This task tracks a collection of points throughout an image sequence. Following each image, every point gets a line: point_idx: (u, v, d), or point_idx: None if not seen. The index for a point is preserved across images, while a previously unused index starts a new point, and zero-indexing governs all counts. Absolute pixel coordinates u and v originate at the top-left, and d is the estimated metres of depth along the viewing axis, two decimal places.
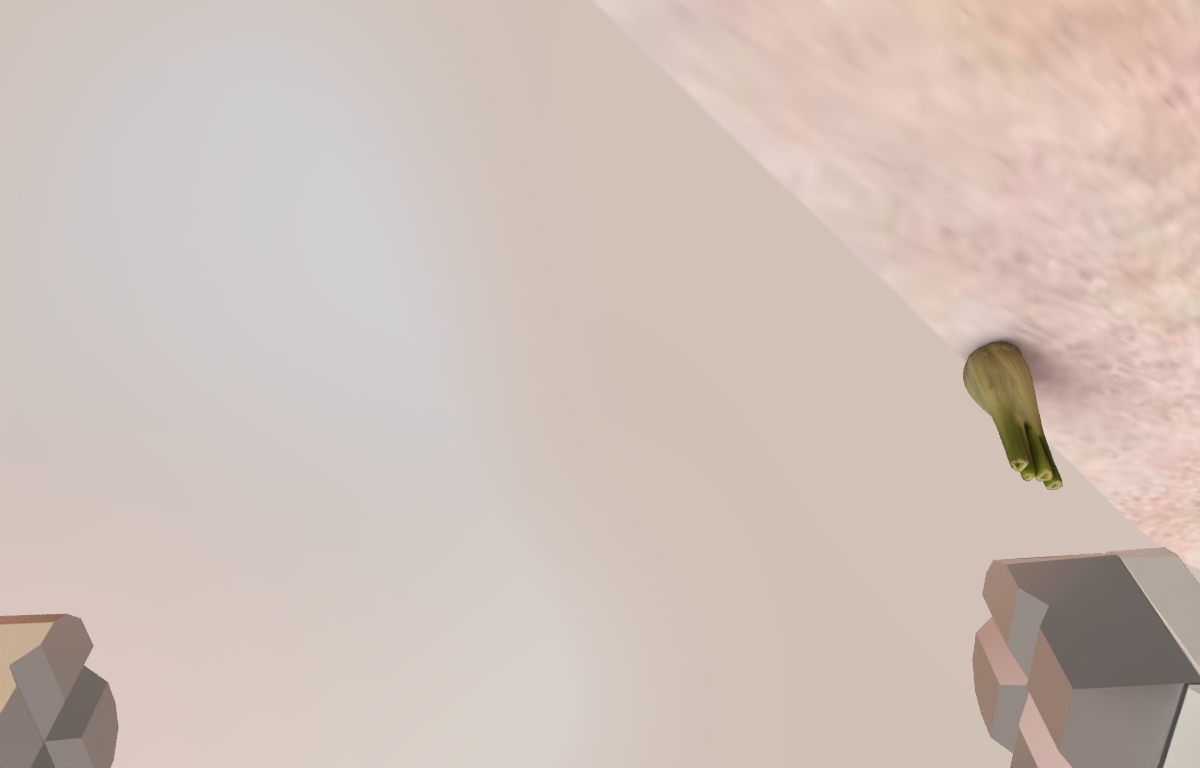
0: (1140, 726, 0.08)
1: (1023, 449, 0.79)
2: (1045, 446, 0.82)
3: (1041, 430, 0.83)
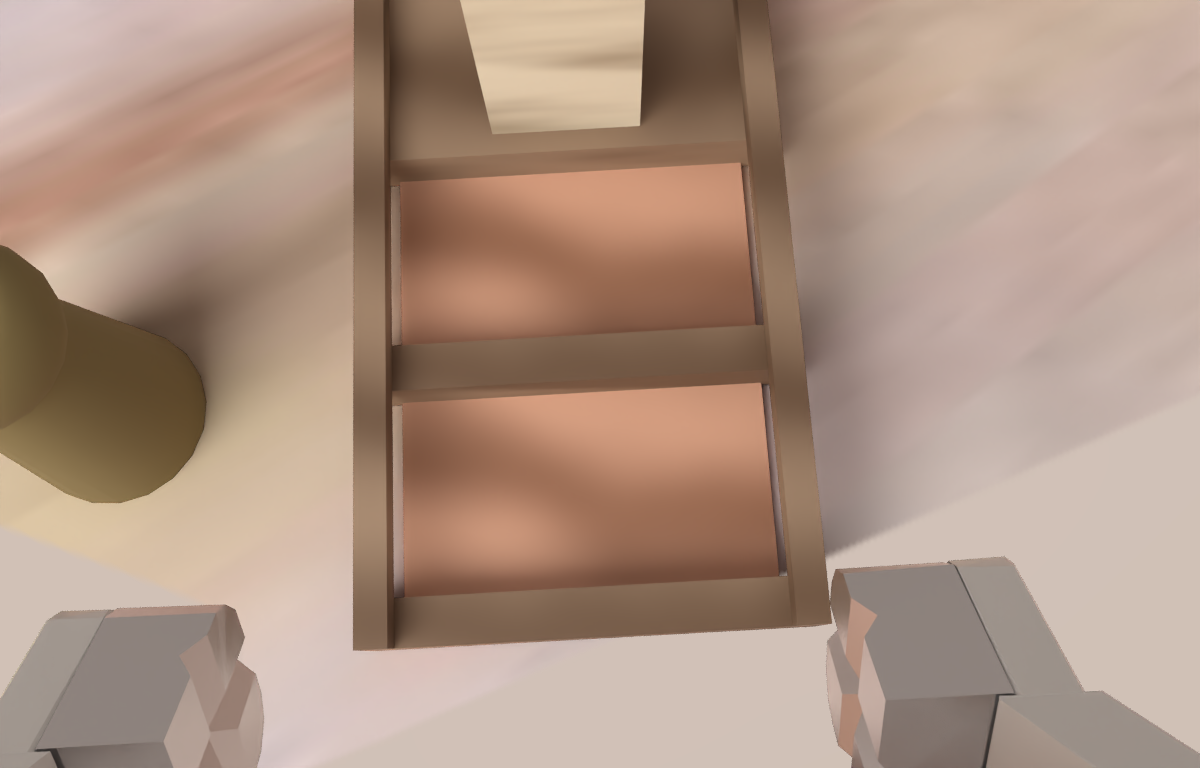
0: (957, 736, 0.08)
1: None
2: None
3: None
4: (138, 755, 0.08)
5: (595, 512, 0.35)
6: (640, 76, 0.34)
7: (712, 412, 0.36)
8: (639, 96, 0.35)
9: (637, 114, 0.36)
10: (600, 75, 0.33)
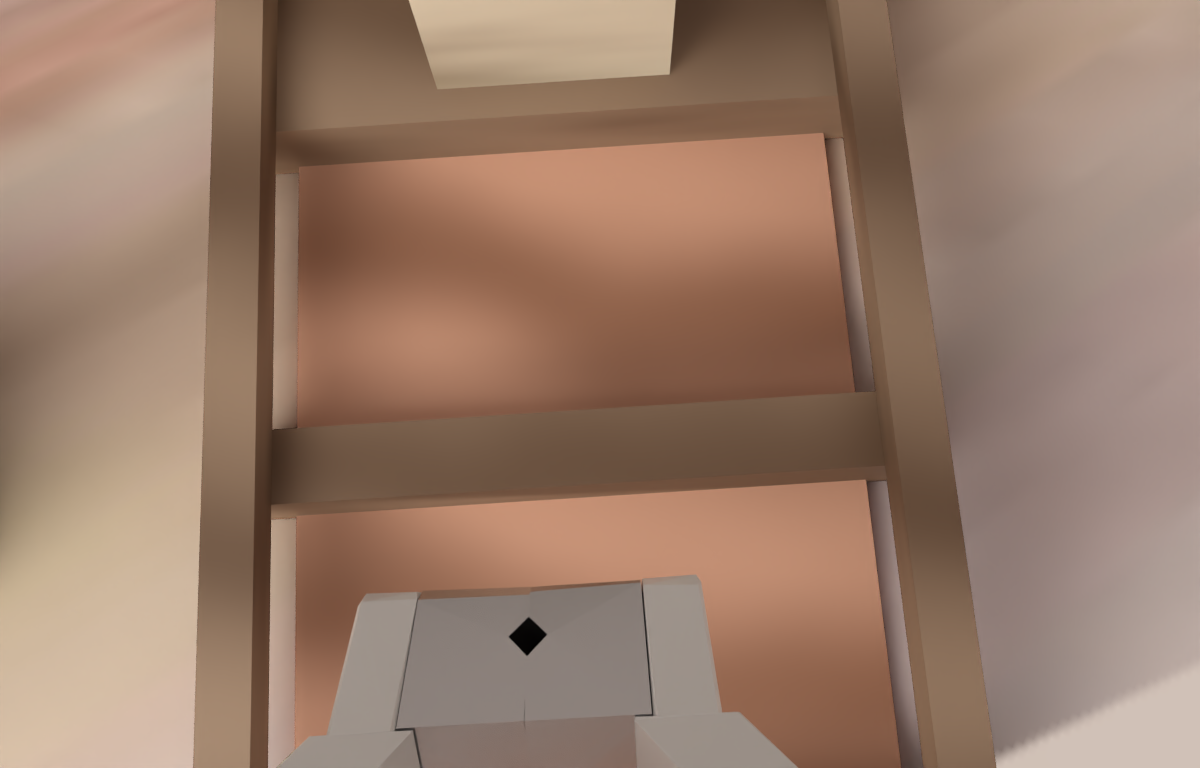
0: (605, 757, 0.08)
1: None
2: None
3: None
4: (496, 735, 0.08)
5: None
6: None
7: (790, 529, 0.23)
8: (671, 21, 0.21)
9: (666, 54, 0.23)
10: None
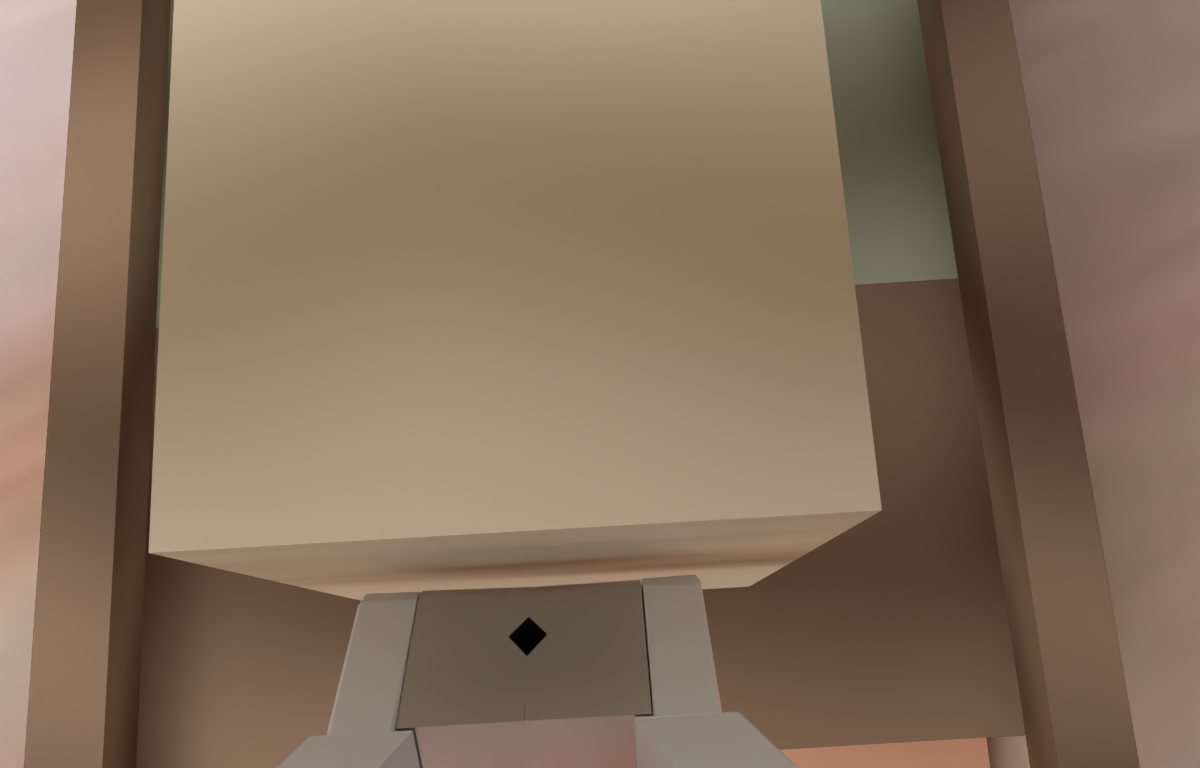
0: (605, 756, 0.08)
1: None
2: None
3: None
4: (495, 733, 0.08)
5: None
6: (777, 568, 0.12)
7: None
8: (763, 576, 0.13)
9: (748, 582, 0.14)
10: (667, 573, 0.12)
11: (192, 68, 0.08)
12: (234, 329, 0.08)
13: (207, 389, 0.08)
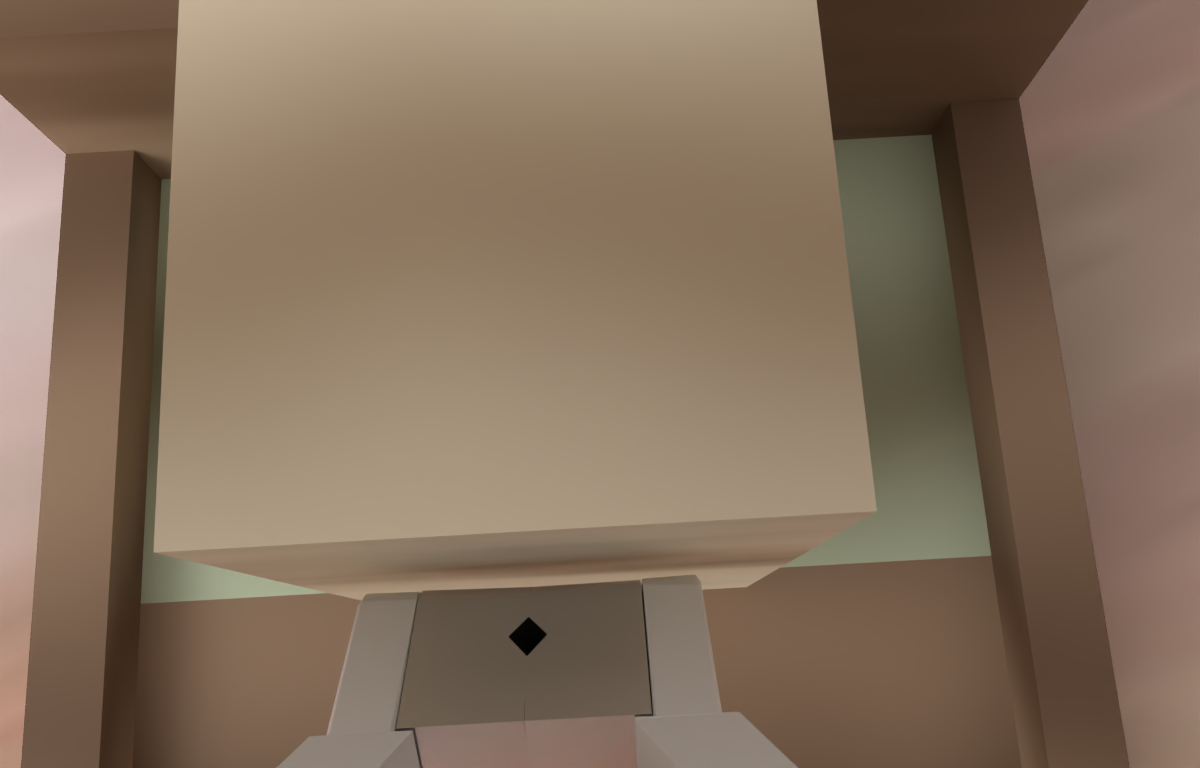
0: (605, 756, 0.08)
1: None
2: None
3: None
4: (496, 735, 0.08)
5: None
6: (775, 568, 0.12)
7: None
8: (760, 576, 0.13)
9: (746, 583, 0.14)
10: (665, 572, 0.12)
11: (197, 73, 0.08)
12: (238, 331, 0.08)
13: (211, 391, 0.08)
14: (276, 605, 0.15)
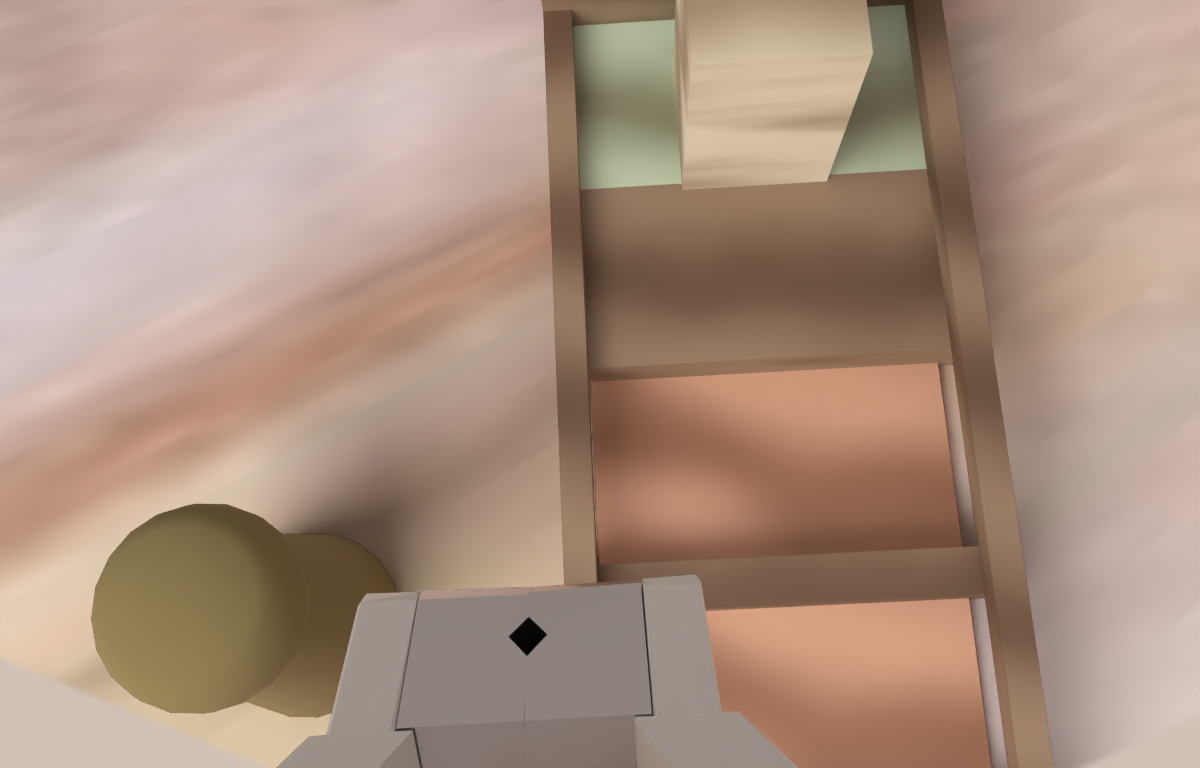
0: (605, 756, 0.08)
1: None
2: None
3: None
4: (495, 735, 0.08)
5: (803, 735, 0.35)
6: (841, 136, 0.35)
7: (920, 630, 0.35)
8: (834, 154, 0.36)
9: (827, 171, 0.37)
10: (803, 135, 0.34)
11: None
12: (706, 14, 0.30)
13: (701, 28, 0.30)
14: (635, 189, 0.38)
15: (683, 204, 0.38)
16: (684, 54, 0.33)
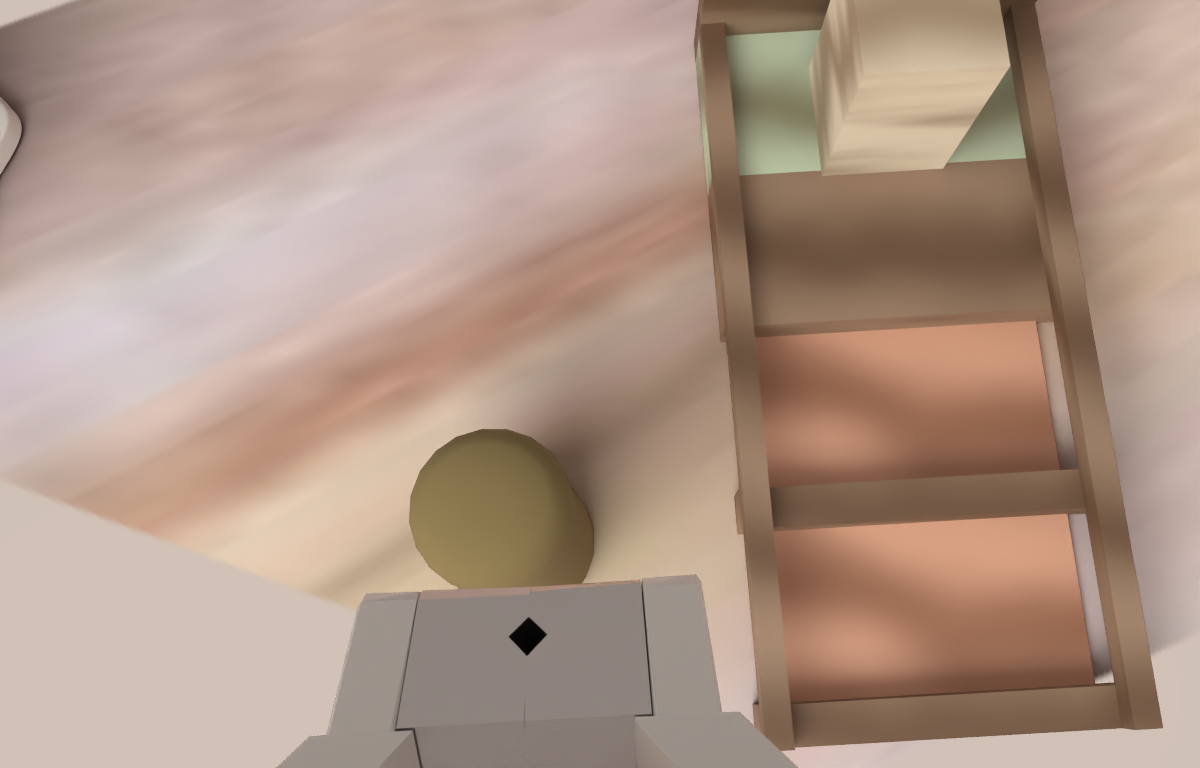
0: (605, 757, 0.08)
1: None
2: None
3: None
4: (495, 735, 0.08)
5: (935, 626, 0.42)
6: (966, 131, 0.42)
7: (1027, 540, 0.43)
8: (956, 146, 0.43)
9: (946, 159, 0.44)
10: (935, 131, 0.42)
11: None
12: (874, 33, 0.37)
13: (870, 44, 0.37)
14: (782, 175, 0.45)
15: (823, 188, 0.45)
16: (844, 64, 0.40)
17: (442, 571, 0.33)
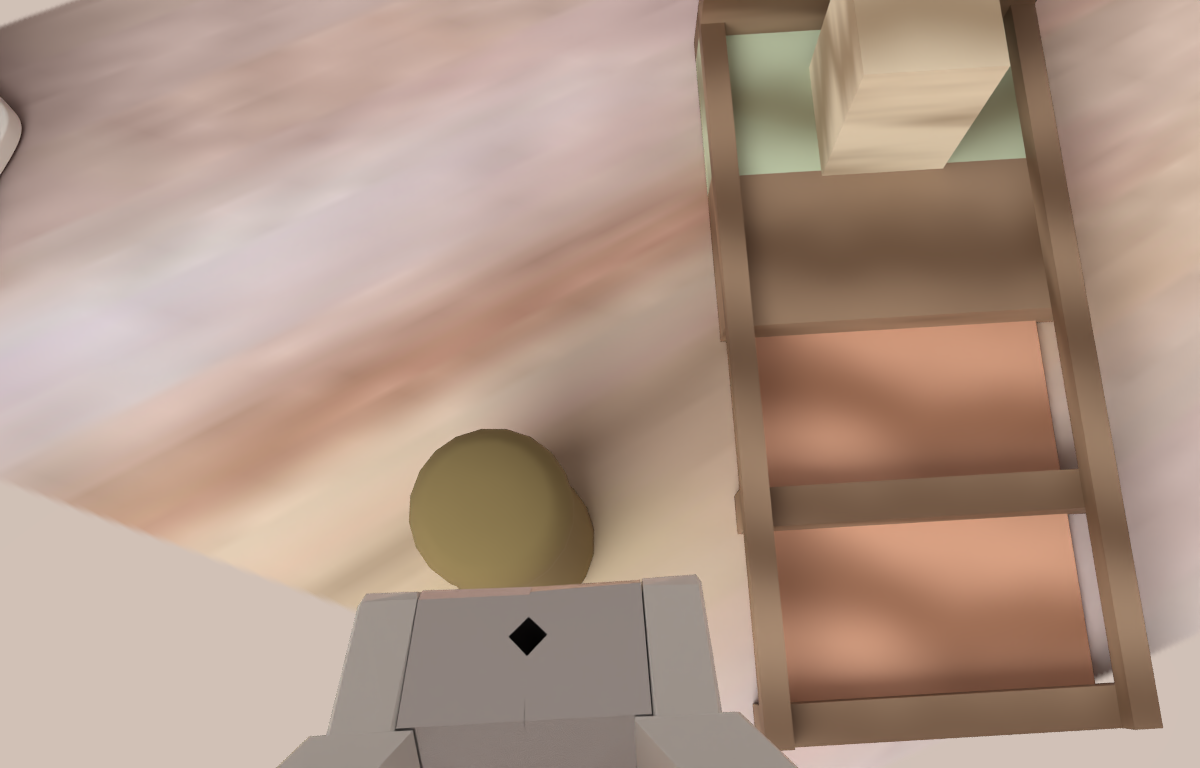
0: (605, 756, 0.08)
1: None
2: None
3: None
4: (495, 734, 0.08)
5: (935, 626, 0.42)
6: (966, 131, 0.42)
7: (1027, 539, 0.43)
8: (956, 146, 0.43)
9: (946, 159, 0.44)
10: (935, 131, 0.42)
11: None
12: (874, 33, 0.37)
13: (870, 44, 0.37)
14: (782, 175, 0.45)
15: (823, 188, 0.45)
16: (844, 64, 0.40)
17: (442, 571, 0.33)
